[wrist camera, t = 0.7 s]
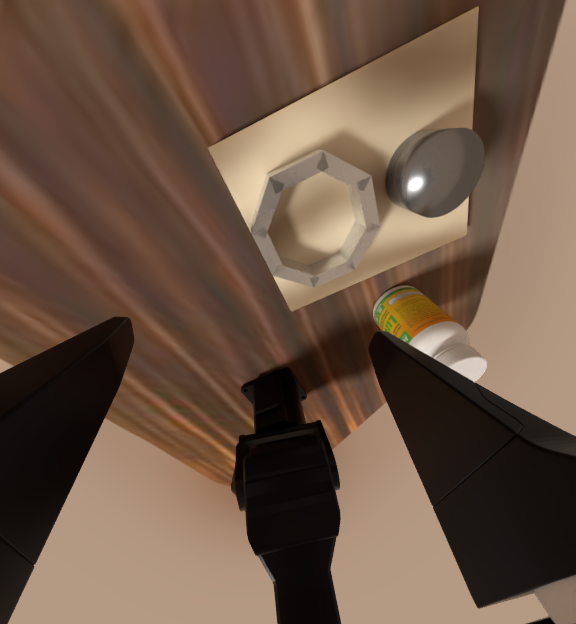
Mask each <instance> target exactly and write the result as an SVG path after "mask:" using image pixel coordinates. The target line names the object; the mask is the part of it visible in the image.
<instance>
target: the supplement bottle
mask: <svg viewBox="0 0 576 624" xmlns="http://www.w3.org/2000/svg"><path fill="white" fill-rule="evenodd" d="M373 318H374V320H375V322H376V324H377V325H378V326H379V328H380V329H381V330H382V331H387V332H389V333H391V334H392V335H394V336H396V337H398V338H399V339H401V340H403V341H405V342H406V343H408V344H410V345H411V346H413V347H415V348H417V349H418V350H420V351H422V352H424V353H425V354H427V355H429V356H430V357H432V358H434V359H436V360H437V361H439V362H441V363H443V364H444V365H446V366H448V367H449V368H451V369H453V370H455V371H456V372H458V373H460V374H462V375H463V376H465V377H467V378H468V379H470V380H472V381H473V382H475V381H476V380H478V379H479V378H480V377H481V376H482V374H483V373H484V372H485V370H486V368H487V361H486V360H485V358H484V357H483V356H481V355H480V354H479V353H478V352H477V351H476V350H475V349H474V348H472V347H471V346H469V335H468V333H467V331H466V330H465V329H464V328H463V327H462V326H461V325H460V324H459V323H457V322H456V321H455V320H454V319H453V318H451V317H450V316H449V315H448V314H446V313H445V312H444V311H443V310H442V309H440V308H439V307H438V306H437V305H436V304H434V303H433V302H432V301H431V300H430V299H428V298H427V297H426V296H425V295H424V294H423V293H421V292H420V291H419V290H417V289H416V288H414V287H412V286H408V285H403V286H397V287H394V288H392V289H390V290H388V291H387V292H385V293H384V294H383V295H382V296H381V297H380V298H379V299H378V300H377V302H376V304H375V306H374V309H373Z"/></svg>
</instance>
